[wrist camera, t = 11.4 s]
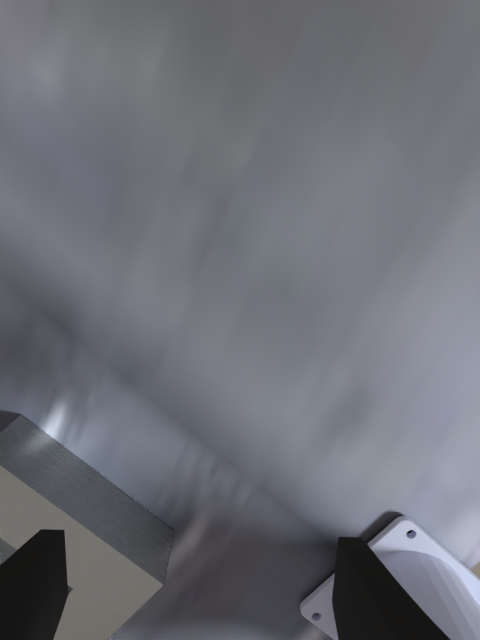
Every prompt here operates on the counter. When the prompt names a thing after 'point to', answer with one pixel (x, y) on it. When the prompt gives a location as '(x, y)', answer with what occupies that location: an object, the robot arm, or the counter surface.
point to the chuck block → (81, 531)
